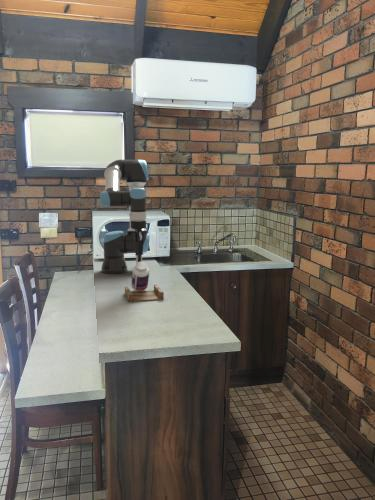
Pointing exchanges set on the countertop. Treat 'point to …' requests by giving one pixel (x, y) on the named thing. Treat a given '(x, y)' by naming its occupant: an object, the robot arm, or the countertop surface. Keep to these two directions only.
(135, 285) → the pill bottle
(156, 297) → the cradle
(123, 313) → the countertop surface
